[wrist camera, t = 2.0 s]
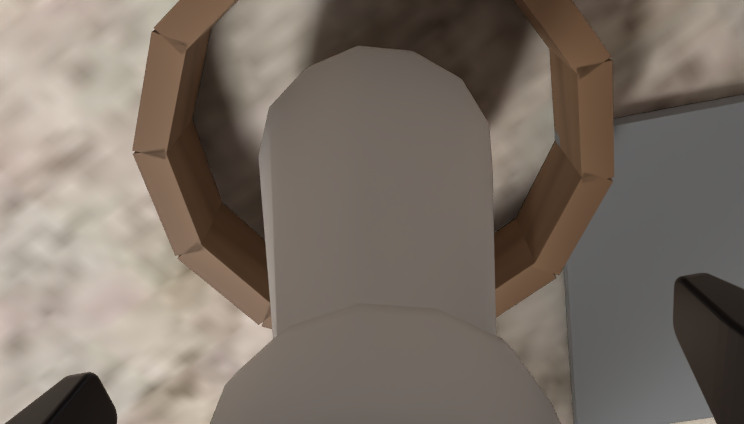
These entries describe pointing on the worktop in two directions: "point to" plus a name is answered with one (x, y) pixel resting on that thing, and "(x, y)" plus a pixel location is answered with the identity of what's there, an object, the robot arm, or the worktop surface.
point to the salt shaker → (380, 255)
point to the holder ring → (248, 250)
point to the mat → (653, 261)
